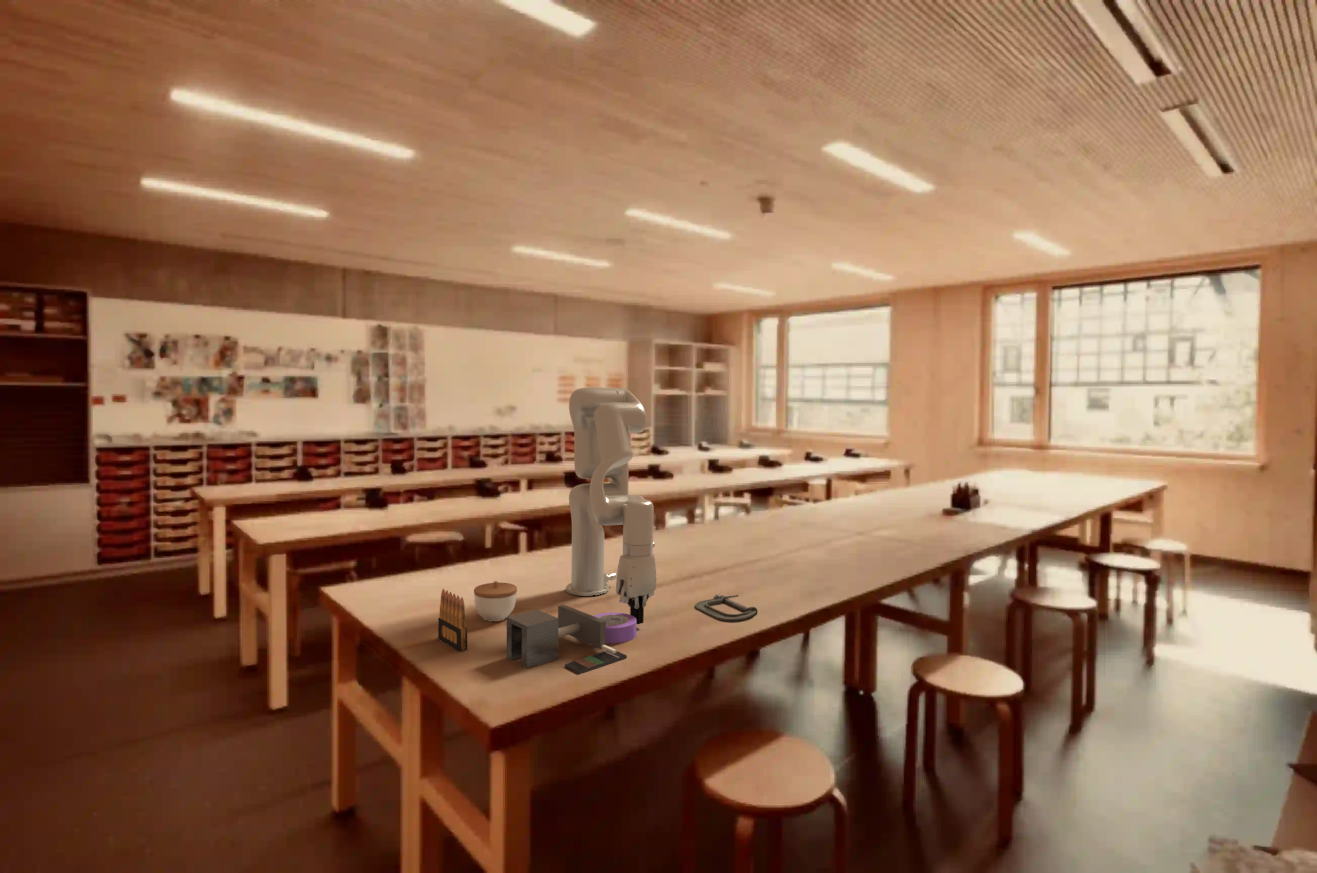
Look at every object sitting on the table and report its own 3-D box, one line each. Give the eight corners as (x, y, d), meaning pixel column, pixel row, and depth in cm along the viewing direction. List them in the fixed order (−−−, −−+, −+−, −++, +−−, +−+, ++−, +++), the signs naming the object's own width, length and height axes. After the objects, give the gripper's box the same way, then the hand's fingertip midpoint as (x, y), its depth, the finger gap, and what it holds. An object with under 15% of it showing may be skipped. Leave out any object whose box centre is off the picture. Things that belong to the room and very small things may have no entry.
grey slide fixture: (578, 636, 161) (578, 599, 161) (626, 657, 149) (627, 617, 148) (506, 657, 148) (506, 616, 147) (553, 682, 135) (553, 638, 135)
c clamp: (684, 604, 190) (684, 594, 190) (737, 597, 198) (737, 588, 198) (721, 626, 172) (721, 615, 172) (777, 618, 180) (777, 608, 179)
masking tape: (578, 634, 164) (578, 619, 163) (614, 623, 172) (614, 608, 172) (609, 647, 155) (609, 631, 155) (646, 635, 163) (646, 620, 163)
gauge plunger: (563, 628, 163) (563, 604, 163) (617, 652, 149) (618, 625, 148) (506, 644, 152) (506, 618, 152) (559, 671, 138) (560, 642, 138)
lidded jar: (523, 613, 178) (523, 577, 178) (506, 626, 168) (506, 589, 167) (485, 609, 180) (485, 575, 180) (466, 622, 170) (466, 585, 169)
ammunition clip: (437, 639, 158) (437, 588, 158) (445, 637, 160) (445, 587, 159) (460, 652, 151) (460, 598, 150) (467, 649, 152) (467, 597, 151)
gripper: (649, 543, 176) (648, 612, 177) (604, 551, 165) (604, 625, 166) (669, 547, 170) (668, 619, 171) (625, 556, 160) (624, 633, 161)
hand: (636, 622), depth 169 cm, fingers closed
